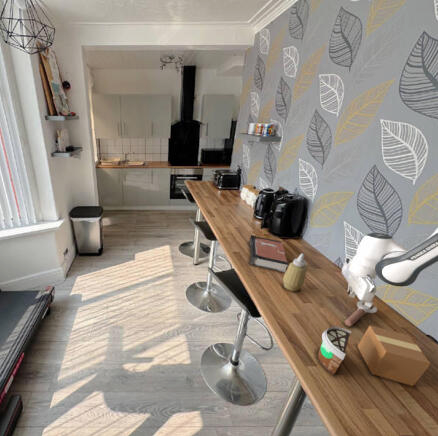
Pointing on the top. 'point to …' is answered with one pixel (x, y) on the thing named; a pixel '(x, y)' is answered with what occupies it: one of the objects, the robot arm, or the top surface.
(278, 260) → the book
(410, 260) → the robot arm
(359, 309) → the pizza cutter
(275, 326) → the top surface
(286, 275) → the squeeze bottle
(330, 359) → the food container
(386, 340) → the carton
